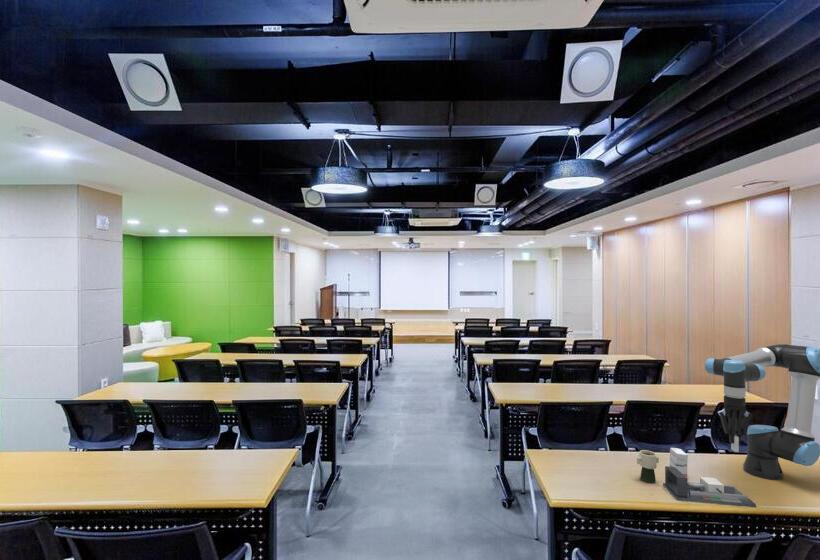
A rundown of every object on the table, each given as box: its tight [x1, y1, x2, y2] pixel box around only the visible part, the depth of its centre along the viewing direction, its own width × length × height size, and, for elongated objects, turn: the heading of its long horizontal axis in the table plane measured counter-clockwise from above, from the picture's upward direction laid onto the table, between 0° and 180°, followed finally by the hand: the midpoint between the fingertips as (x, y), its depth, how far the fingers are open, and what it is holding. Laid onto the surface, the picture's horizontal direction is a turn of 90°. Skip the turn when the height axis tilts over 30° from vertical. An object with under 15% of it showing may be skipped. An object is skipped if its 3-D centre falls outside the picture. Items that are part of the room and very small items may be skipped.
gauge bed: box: [662, 465, 757, 508], centre depth 184 cm, size 30×14×9 cm, turn 81°
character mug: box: [636, 449, 660, 483], centre depth 198 cm, size 11×7×13 cm, turn 97°
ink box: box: [669, 447, 689, 478], centre depth 204 cm, size 9×5×12 cm, turn 168°
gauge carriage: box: [688, 476, 725, 493], centre depth 182 cm, size 12×11×5 cm
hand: (735, 450), depth 183 cm, fingers closed
